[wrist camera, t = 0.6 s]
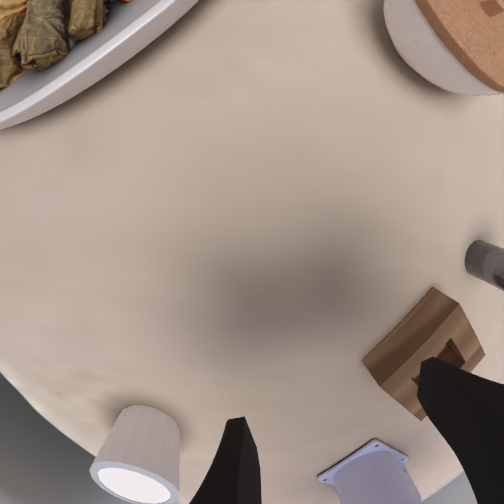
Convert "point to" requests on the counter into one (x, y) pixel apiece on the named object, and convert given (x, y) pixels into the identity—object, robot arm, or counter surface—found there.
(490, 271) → the pin
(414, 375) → the socket block
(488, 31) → the lidded jar
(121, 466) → the shot glass
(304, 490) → the counter surface
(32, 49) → the bowl
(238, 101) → the counter surface
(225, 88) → the counter surface
